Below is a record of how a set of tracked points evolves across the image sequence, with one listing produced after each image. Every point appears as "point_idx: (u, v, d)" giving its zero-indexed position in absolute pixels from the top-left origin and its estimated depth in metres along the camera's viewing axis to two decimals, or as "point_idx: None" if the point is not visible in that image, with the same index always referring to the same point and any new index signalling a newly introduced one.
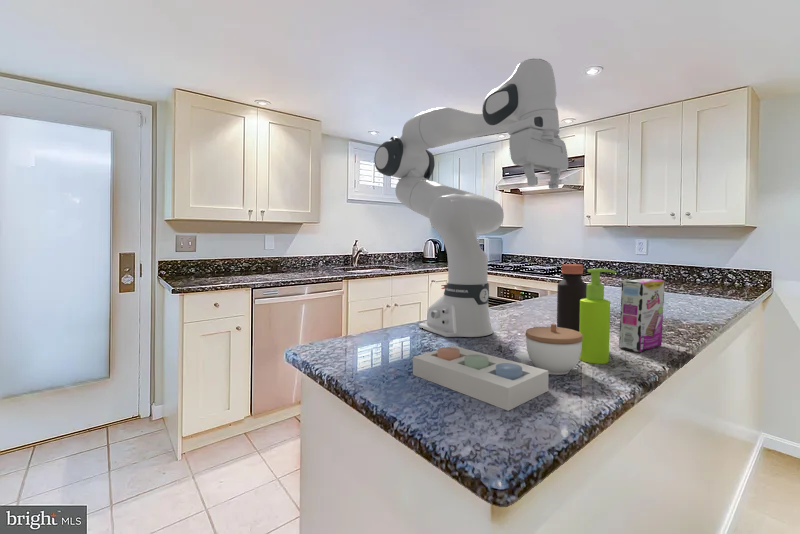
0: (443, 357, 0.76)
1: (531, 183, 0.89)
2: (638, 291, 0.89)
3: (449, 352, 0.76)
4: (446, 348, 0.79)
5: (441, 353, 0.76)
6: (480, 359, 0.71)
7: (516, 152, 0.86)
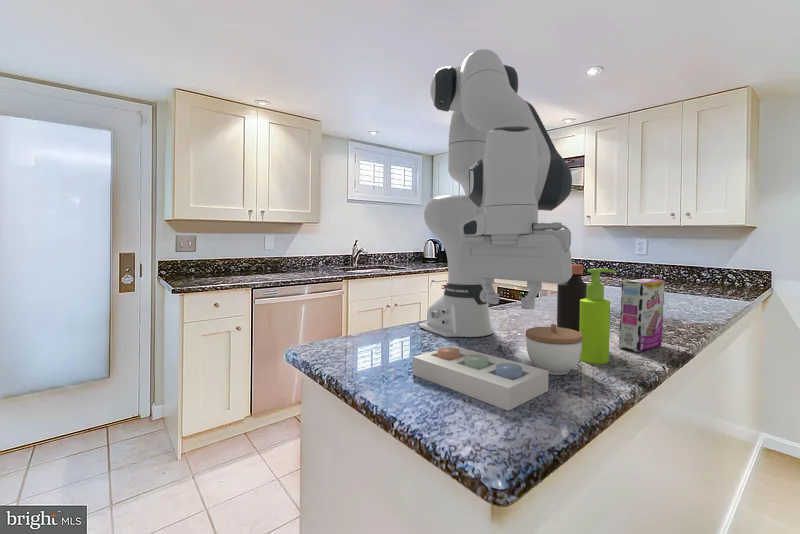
0: (443, 357, 0.76)
1: None
2: (639, 291, 0.89)
3: (449, 352, 0.76)
4: (446, 348, 0.79)
5: (441, 353, 0.76)
6: (480, 359, 0.71)
7: None
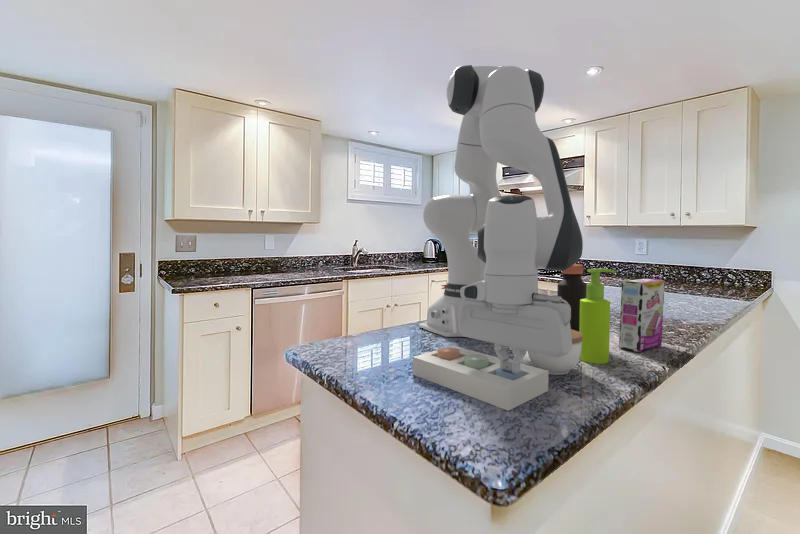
0: (443, 357, 0.76)
1: None
2: (638, 291, 0.89)
3: (449, 352, 0.76)
4: (446, 348, 0.79)
5: (441, 353, 0.76)
6: (480, 359, 0.71)
7: None
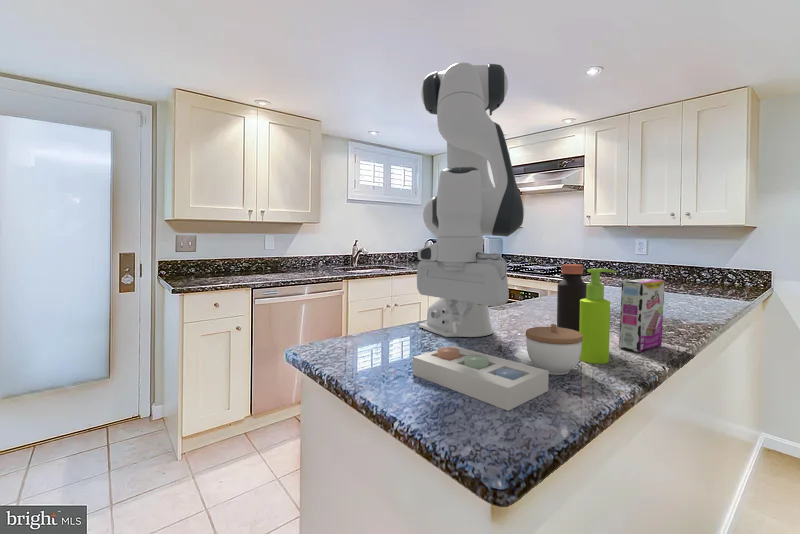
0: (443, 357, 0.76)
1: None
2: (638, 291, 0.89)
3: (449, 352, 0.76)
4: (446, 348, 0.79)
5: (441, 353, 0.76)
6: (480, 359, 0.71)
7: None
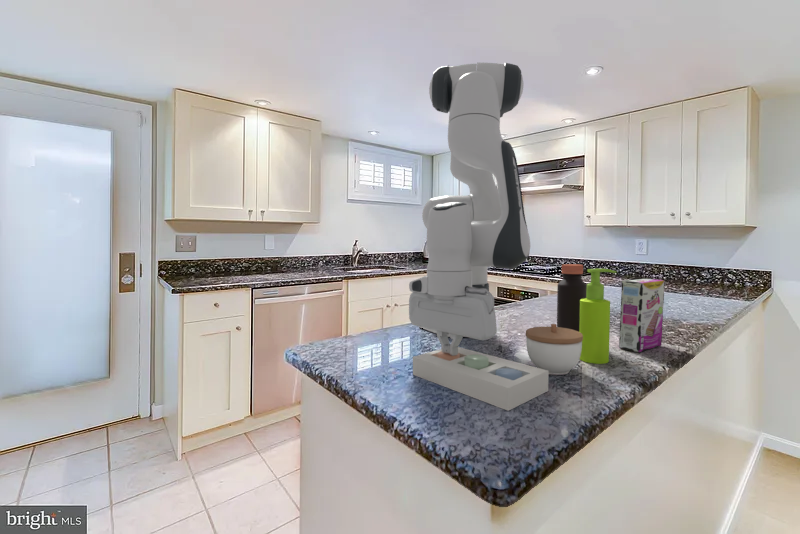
0: None
1: None
2: (638, 291, 0.89)
3: (449, 356, 0.76)
4: None
5: (441, 356, 0.76)
6: (480, 359, 0.71)
7: None
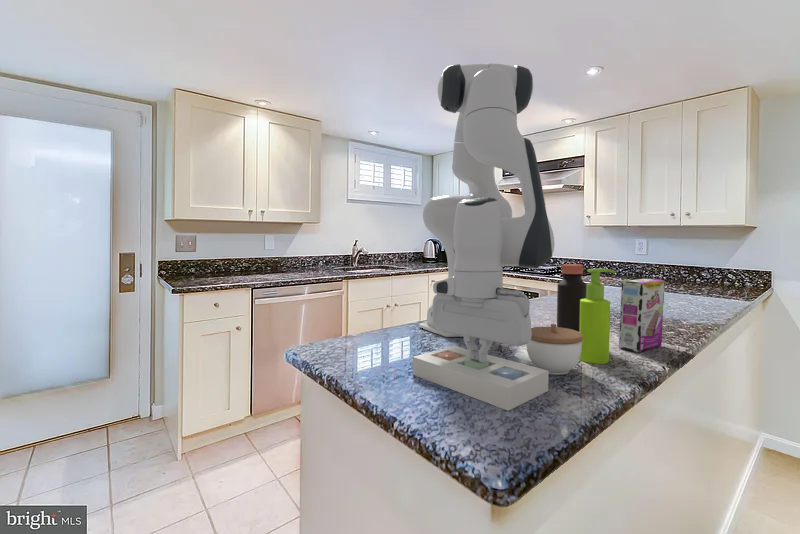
0: None
1: None
2: (638, 291, 0.89)
3: (449, 358, 0.76)
4: (446, 353, 0.79)
5: None
6: None
7: None
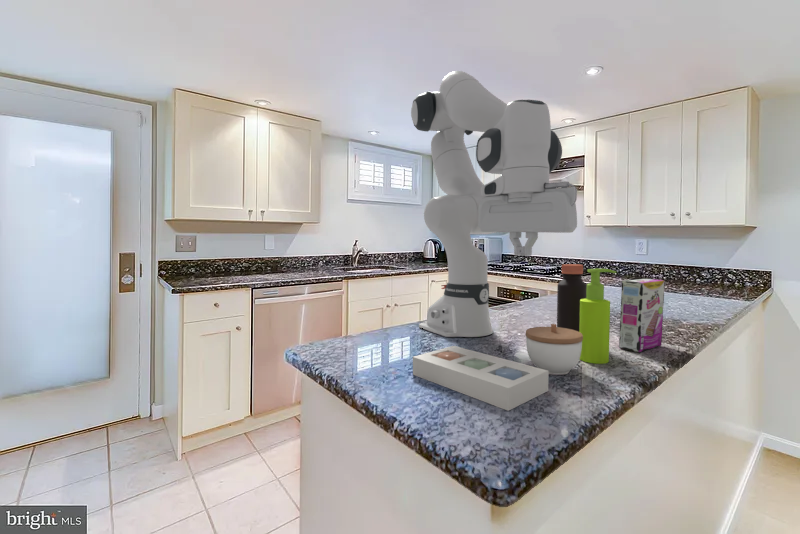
0: None
1: None
2: (638, 291, 0.89)
3: (449, 358, 0.76)
4: (446, 353, 0.79)
5: None
6: (480, 364, 0.71)
7: None
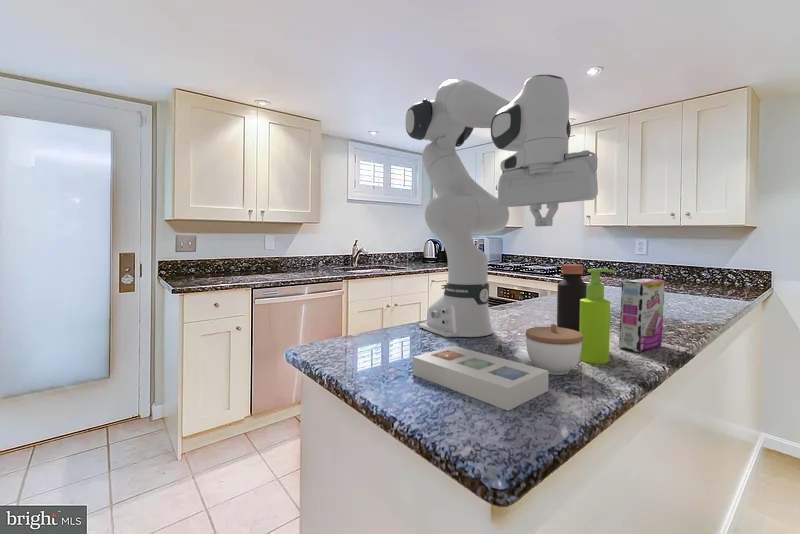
0: None
1: None
2: (638, 291, 0.89)
3: (449, 358, 0.76)
4: (446, 353, 0.79)
5: None
6: (480, 364, 0.71)
7: None
